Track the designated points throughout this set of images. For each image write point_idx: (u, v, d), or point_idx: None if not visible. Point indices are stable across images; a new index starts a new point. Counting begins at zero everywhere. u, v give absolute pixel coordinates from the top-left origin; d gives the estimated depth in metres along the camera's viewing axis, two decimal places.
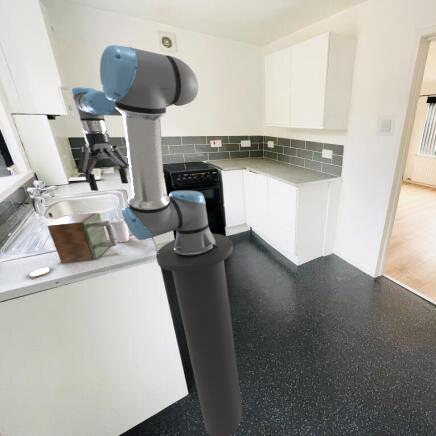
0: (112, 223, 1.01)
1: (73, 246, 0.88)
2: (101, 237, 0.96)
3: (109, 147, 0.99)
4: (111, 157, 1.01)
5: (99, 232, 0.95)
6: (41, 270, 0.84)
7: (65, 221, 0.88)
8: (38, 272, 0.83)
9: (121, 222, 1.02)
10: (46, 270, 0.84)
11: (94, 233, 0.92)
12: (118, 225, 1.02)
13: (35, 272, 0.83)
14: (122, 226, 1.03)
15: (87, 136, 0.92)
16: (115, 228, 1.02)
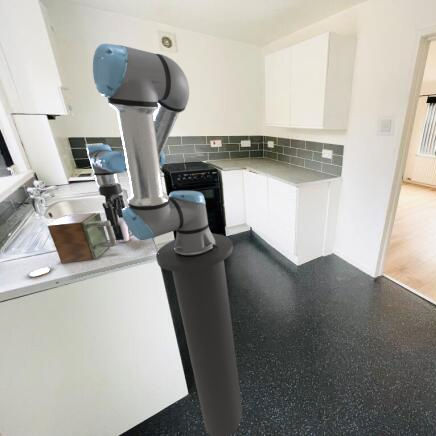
0: None
1: (73, 246, 0.88)
2: (101, 237, 0.96)
3: (118, 195, 1.04)
4: (118, 207, 1.04)
5: (99, 232, 0.95)
6: (41, 270, 0.84)
7: (65, 221, 0.88)
8: (38, 272, 0.83)
9: (121, 222, 1.02)
10: (46, 270, 0.84)
11: (94, 233, 0.92)
12: None
13: (35, 272, 0.83)
14: (122, 226, 1.03)
15: (105, 189, 0.96)
16: None
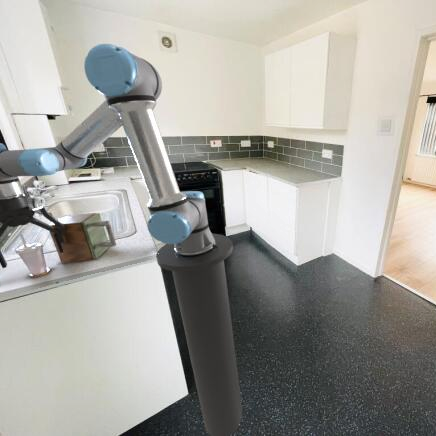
0: None
1: (73, 246, 0.88)
2: (101, 237, 0.96)
3: (28, 212, 0.77)
4: None
5: (99, 232, 0.95)
6: None
7: (65, 221, 0.88)
8: None
9: (18, 252, 0.77)
10: None
11: (94, 233, 0.92)
12: None
13: None
14: (22, 256, 0.78)
15: None
16: None
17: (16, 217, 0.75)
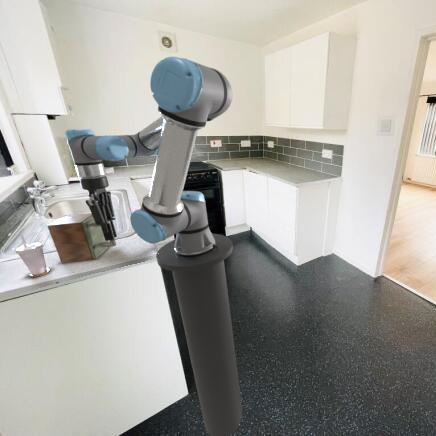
0: None
1: (73, 246, 0.88)
2: (101, 237, 0.96)
3: (105, 190, 0.89)
4: None
5: (99, 232, 0.95)
6: None
7: (65, 221, 0.88)
8: None
9: (18, 252, 0.77)
10: None
11: (94, 233, 0.92)
12: None
13: None
14: (22, 256, 0.78)
15: (88, 182, 0.81)
16: None
17: None
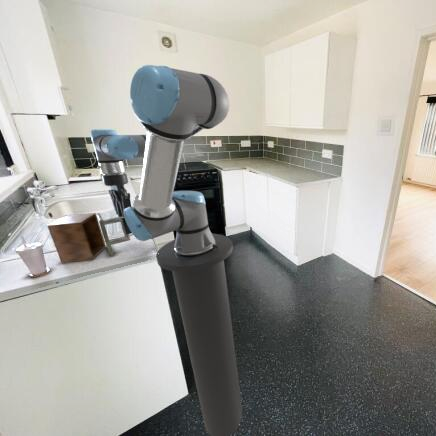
0: None
1: (73, 246, 0.88)
2: None
3: None
4: None
5: None
6: None
7: (65, 221, 0.88)
8: None
9: (18, 252, 0.77)
10: None
11: None
12: None
13: None
14: (22, 256, 0.78)
15: (119, 178, 0.88)
16: None
17: None
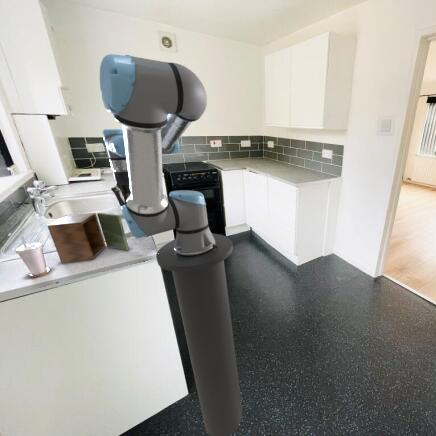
0: None
1: (73, 246, 0.88)
2: None
3: None
4: None
5: None
6: None
7: (65, 221, 0.88)
8: None
9: (18, 252, 0.77)
10: None
11: None
12: None
13: None
14: (22, 256, 0.78)
15: None
16: None
17: None
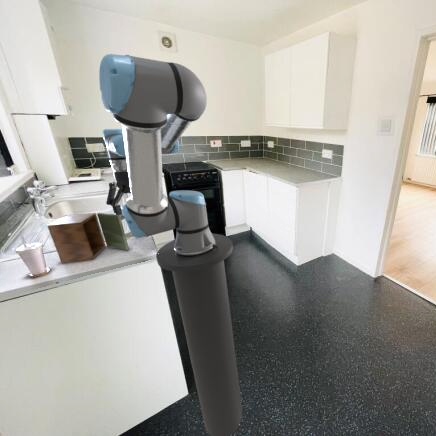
0: None
1: (73, 246, 0.88)
2: None
3: None
4: (123, 193, 1.01)
5: None
6: None
7: (65, 221, 0.88)
8: None
9: (18, 252, 0.77)
10: None
11: None
12: None
13: None
14: (22, 256, 0.78)
15: None
16: None
17: None
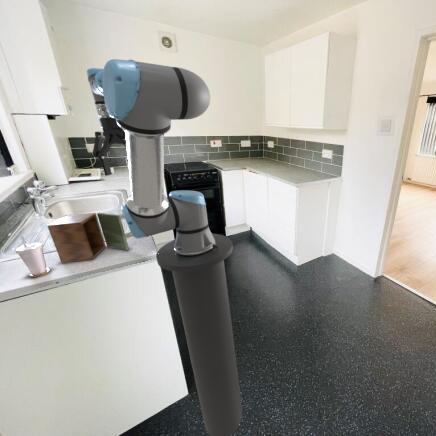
0: None
1: (73, 246, 0.88)
2: None
3: None
4: (110, 144, 0.94)
5: None
6: None
7: (65, 221, 0.88)
8: None
9: (18, 252, 0.77)
10: None
11: None
12: None
13: None
14: (22, 256, 0.78)
15: None
16: None
17: None
